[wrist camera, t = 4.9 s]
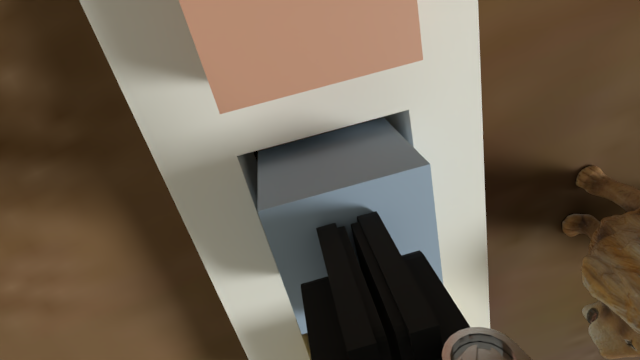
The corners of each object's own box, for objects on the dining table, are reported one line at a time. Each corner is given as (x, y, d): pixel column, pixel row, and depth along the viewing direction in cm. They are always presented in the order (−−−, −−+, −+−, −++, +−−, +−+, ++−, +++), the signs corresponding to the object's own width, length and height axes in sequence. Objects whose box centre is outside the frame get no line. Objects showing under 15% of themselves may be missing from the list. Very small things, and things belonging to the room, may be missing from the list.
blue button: (258, 151, 13) (257, 211, 9) (383, 117, 13) (430, 164, 10) (291, 253, 15) (301, 334, 11) (400, 223, 15) (444, 294, 12)
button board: (76, -127, 11) (-6, -180, 8) (403, -208, 12) (466, -296, 8) (279, 361, 21) (284, 434, 18) (453, 311, 22) (491, 375, 18)
